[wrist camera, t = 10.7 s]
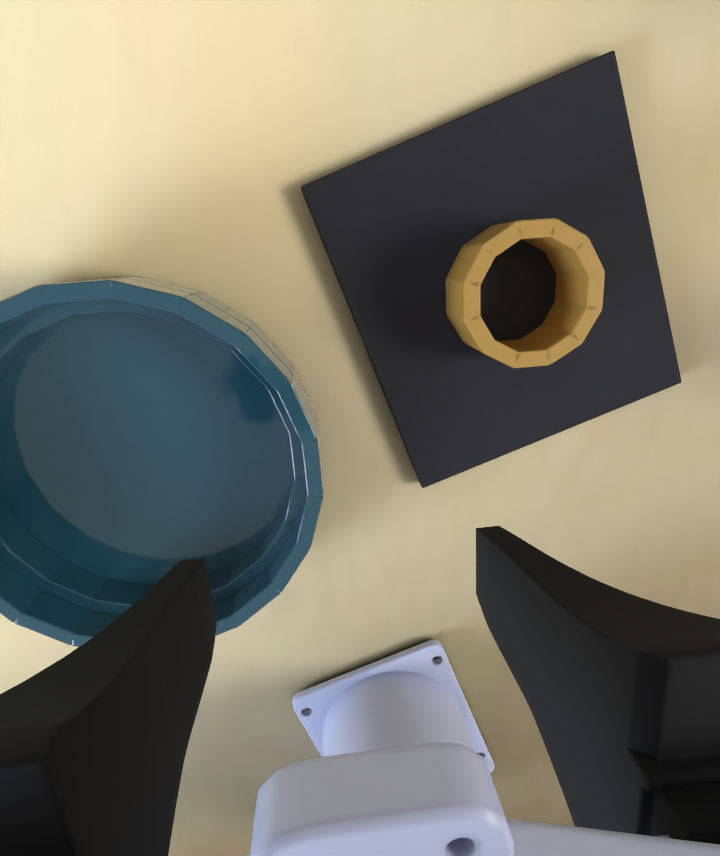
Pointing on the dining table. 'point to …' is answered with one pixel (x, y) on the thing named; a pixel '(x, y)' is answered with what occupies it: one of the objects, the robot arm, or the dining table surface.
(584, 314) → the napkin ring
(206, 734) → the dining table surface
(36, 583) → the bowl
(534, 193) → the coaster
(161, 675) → the robot arm
